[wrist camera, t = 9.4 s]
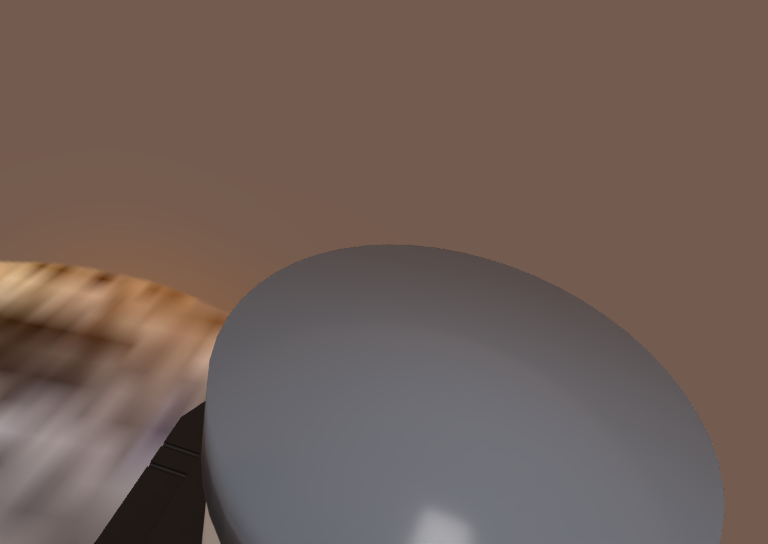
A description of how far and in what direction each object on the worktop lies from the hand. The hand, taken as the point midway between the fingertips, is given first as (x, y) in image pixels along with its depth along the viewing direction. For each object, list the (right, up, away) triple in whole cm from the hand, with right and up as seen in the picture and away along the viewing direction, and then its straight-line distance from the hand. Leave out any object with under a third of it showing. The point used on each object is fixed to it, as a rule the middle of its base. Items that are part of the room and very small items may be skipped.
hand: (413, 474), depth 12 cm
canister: (-2, -7, +1) cm, 7 cm away
